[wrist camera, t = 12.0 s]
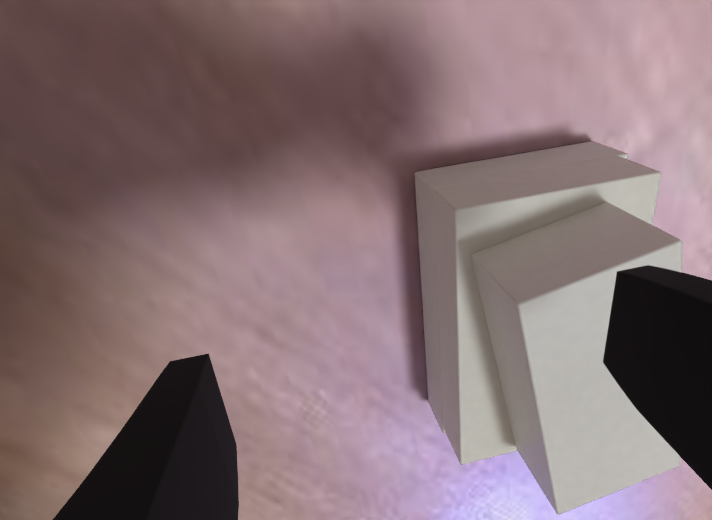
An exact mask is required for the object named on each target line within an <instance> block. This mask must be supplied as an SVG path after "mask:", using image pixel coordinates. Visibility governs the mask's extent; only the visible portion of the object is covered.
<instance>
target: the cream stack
mask: <svg viewBox="0 0 712 520" xmlns="http://www.w3.org/2000/svg"><path fill="white" fill-rule="evenodd" d="M660 178H661V172H659V171H657V170H654V169H651V168H649V167H646V166H644V165H641V164H638V163H636V162H633V161H630V160H628V154H627V153H624V152H622V151H619V150H616V149H613V148H611V147H608V146H605V145H602V144H600V143H597V142H594V141H591V142H585V143H579V144H573V145H568V146H562V147H556V148H550V149H545V150H539V151H533V152H527V153H521V154H516V155H510V156H504V157H498V158H493V159H487V160H481V161H475V162H469V163H464V164H458V165H452V166H446V167H441V168H435V169H429V170H423V171H417V172H415V189H416V206H417V222H418V239H419V255H420V271H421V288H422V304H423V320H424V337H425V353H426V369H427V386H428V402H429V404H430V406H431V408H432V411H433V413H434V415H435V417H436V419H437V421H438V423H439V426H440V428H441V430H442V432H443V433H446V435H447V437H448V439H449V441H450V443H451V445H452V447H453V449H454V451H455V454H456V456H457V458H458V460H459V462H460V464H461V465H463V464H467V463H471V462H475V461H479V460H483V459H487V458H491V457H495V456H499V455H503V454H507V453H511V452H515V451H518V450H517V449H516V446H515V442H514V438H513V433H512V429H511V425H510V420H509V416H508V412H507V408H506V403H505V399H504V395H503V390H502V386H501V382H500V378H499V373H498V369H497V365H496V360H495V356H494V352H493V347H492V343H491V339H490V335H489V330H488V326H487V322H486V317H485V313H484V309H483V305H482V300H481V296H480V292H479V287H478V283H477V279H476V275H475V270H474V266H473V262H472V257H471V255H472V254H473V253H476V252H478V251H481V250H484V249H486V248H489V247H491V246H494V245H497V244H499V243H502V242H504V241H507V240H510V239H512V238H515V237H517V236H520V235H523V234H525V233H528V232H530V231H533V230H535V229H538V228H541V227H543V226H546V225H548V224H551V223H554V222H556V221H559V220H561V219H564V218H567V217H569V216H572V215H574V214H577V213H580V212H582V211H585V210H587V209H590V208H592V207H595V206H598V205H600V204H603V203H605V202H609V203H610V204H612V205H614V206H616V207H618V208H620V209H622V210H624V211H626V212H628V213H630V214H632V215H634V216H636V217H637V218H639V219H641V220H643V221H645V222H647V223H649V224H651V225H652V223H653V217H654V212H655V206H656V200H657V195H658V189H659V183H660Z"/></svg>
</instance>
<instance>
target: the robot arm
mask: <svg viewBox="0 0 712 520" xmlns="http://www.w3.org/2000/svg"><path fill="white" fill-rule="evenodd" d="M603 363H604V365H605V366H606V368H607V369H608V371H609V372H610V373H611V375H612V376H613V378H614V379H615V381H616V382H617V384H618V385H619V386H620V388H621V389H622V391H623V392H624V393H625V395H626V396H627V397H628V399H629V400H630V401H631V403H632V404H633V405H634V406H635V408H636V409H637V410H638V411H639V412H640V414H641V415H642V416H643V417H644V418H645V419H646V420H647V421H648V422H649V424H650V425H651V426H652V427H653V428H654V429H655V430H656V431H657V432H658V433H659V434H660V435H661V436H662V437H663V439H664V440H665V441H666V442H667V443H668V444H669V445H670V446H671V447H672V448H673V449H674V450H675V451H676V452H677V453H678V455H679V456H680V457H681V458H682V459H683V460H684V461H685V462H686V463H687V464H688V465H689V466H690V467H691V468H692V469H693V470H694V471H695V472H696V474H697V475H698V476H699V477H700V478H701V479H702V480H703V481H704V482H705V483H706V484H707V485H708V486H709V487H710V488H711V489H712V281H711V280H708V279H704V278H700V277H697V276H693V275H689V274H686V273H682V272H678V271H674V270H669V269H665V268H660V267H655V266H650V265H646V266H642V267H637V268H632V269H627V270H622V271H617V275H616V281H615V287H614V294H613V300H612V306H611V313H610V319H609V326H608V332H607V338H606V345H605V351H604V358H603ZM238 507H239V501H238V472H237V450H236V442H235V439H234V436H233V432H232V429H231V426H230V423H229V419H228V416H227V413H226V409H225V406H224V403H223V400H222V396H221V393H220V390H219V387H218V383H217V380H216V377H215V373H214V370H213V367H212V364H211V360H210V357H209V354H205V355H200V356H195V357H190V358H185V359H180V360H175V361H170V362H169V364H168V365H167V366H166V368H165V369H164V370H163V372H162V373H161V374H160V376H159V377H158V378H157V380H156V381H155V383H154V384H153V386H152V387H151V388H150V390H149V391H148V393H147V394H146V396H145V397H144V398H143V400H142V401H141V403H140V404H139V406H138V407H137V409H136V410H135V411H134V413H133V414H132V416H131V417H130V418H129V420H128V421H127V423H126V424H125V426H124V427H123V428H122V430H121V431H120V433H119V434H118V435H117V437H116V438H115V439H114V441H113V442H112V443H111V445H110V446H109V447H108V449H107V450H106V452H105V453H104V454H103V456H102V457H101V458H100V460H99V461H98V462H97V464H96V465H95V467H94V468H93V469H92V471H91V472H90V473H89V475H88V476H87V477H86V479H85V480H84V481H83V482H82V484H81V485H80V486H79V488H78V489H77V490H76V491H75V493H74V494H73V495H72V496H71V498H70V499H69V500H68V501H67V503H66V504H65V505H64V506H63V508H62V509H61V510H60V511H59V513H58V514H57V515H56V516H55V518H54V519H53V520H238Z"/></svg>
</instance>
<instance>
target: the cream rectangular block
mask: <svg viewBox="0 0 712 520" xmlns="http://www.w3.org/2000/svg"><path fill="white" fill-rule="evenodd" d="M471 257H472V262H473V266H474V270H475V275H476V279H477V283H478V287H479V292H480V296H481V300H482V305H483V309H484V313H485V317H486V322H487V326H488V330H489V335H490V339H491V343H492V347H493V352H494V356H495V360H496V365H497V369H498V373H499V378H500V382H501V386H502V390H503V395H504V399H505V403H506V408H507V412H508V416H509V420H510V425H511V429H512V433H513V438H514V442H515V446H516V449H517V450H518V452H519V453H520V455H521V457H522V458H523V460H524V461H525V463H526V465H527V466H528V468H529V470H530V471H531V473H532V474H533V476H534V478H535V479H536V481H537V482H538V484H539V486H540V487H541V489H542V491H543V492H544V494H545V495H546V497H547V499H548V500H549V502H550V503H551V505H552V507H553V508H554V510H555V511H556V513H557V514H561V513H564V512H566V511H569V510H571V509H574V508H576V507H579V506H581V505H584V504H586V503H589V502H591V501H594V500H596V499H599V498H601V497H604V496H606V495H609V494H611V493H614V492H616V491H619V490H621V489H623V488H626V487H628V486H631V485H633V484H636V483H638V482H641V481H643V480H646V479H648V478H651V477H653V476H656V475H658V474H661V473H663V472H666V471H668V470H671V469H673V468H676V467H678V466H679V465H680V456H679V455H678V453H677V452H676V451H675V450H674V449H673V448H672V447H671V446H670V445H669V444H668V443H667V442H666V441H665V440H664V439H663V437H662V436H661V435H660V434H659V433H658V432H657V431H656V430H655V429H654V428H653V427H652V426H651V425H650V424H649V422H648V421H647V420H646V419H645V418H644V417H643V416H642V415H641V414H640V412H639V411H638V410H637V409H636V408H635V406H634V405H633V404H632V403H631V401H630V400H629V399H628V397H627V396H626V395H625V393H624V392H623V391H622V389H621V388H620V386H619V385H618V384H617V382H616V381H615V379H614V378H613V376H612V375H611V373H610V372H609V371H608V369H607V368H606V366H605V365H604V363H603V358H604V351H605V345H606V338H607V332H608V326H609V319H610V313H611V306H612V300H613V294H614V287H615V281H616V275H617V271H622V270H627V269H632V268H637V267H642V266H646V265H650V266H655V267H660V268H665V269H669V270H674V271H678V272H682V241H681V240H680V239H678V238H676V237H674V236H672V235H670V234H668V233H666V232H664V231H663V230H661V229H659V228H657V227H655V226H653V225H651V224H649V223H647V222H645V221H643V220H641V219H639V218H637V217H636V216H634V215H632V214H630V213H628V212H626V211H624V210H622V209H620V208H618V207H616V206H614V205H612V204H610V203H609V202H605V203H603V204H600V205H598V206H595V207H592V208H590V209H587V210H585V211H582V212H580V213H577V214H574V215H572V216H569V217H567V218H564V219H561V220H559V221H556V222H554V223H551V224H548V225H546V226H543V227H541V228H538V229H535V230H533V231H530V232H528V233H525V234H523V235H520V236H517V237H515V238H512V239H510V240H507V241H504V242H502V243H499V244H497V245H494V246H491V247H489V248H486V249H484V250H481V251H478V252H476V253H473V254H472V255H471Z"/></svg>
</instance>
